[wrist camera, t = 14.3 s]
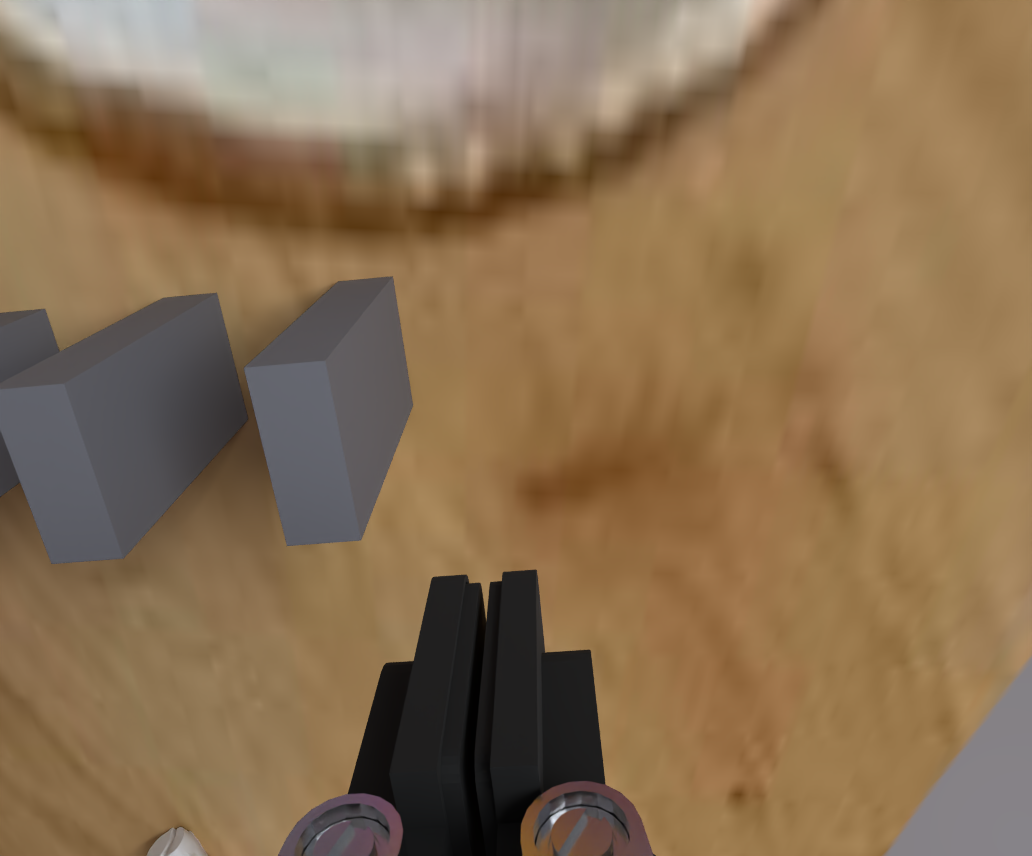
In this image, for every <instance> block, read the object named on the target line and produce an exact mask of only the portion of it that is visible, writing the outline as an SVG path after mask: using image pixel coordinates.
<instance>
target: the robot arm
mask: <svg viewBox="0 0 1032 856" xmlns="http://www.w3.org/2000/svg"><path fill="white" fill-rule="evenodd" d="M278 856H656V855H654V854H653V853H652V850H651V847H650V844H649V841H648V838H647V835H646V832H645V829H644V826H643V823H642V820H641V818H640V816H639V814H638V812H637V810H636V809H635V807H634V805H633V804H632V803H631V802H630V801H629V800H628V799H627V798H626V797H625V796H624V795H623V794H622V793H621V792H619V791H617V790H615V789H613V788H611V787H609V786H607V785H605V776H604V767H603V758H602V749H601V740H600V731H599V722H598V713H597V703H596V694H595V685H594V676H593V667H592V658H591V651H590V650H578V651H563V652H547V653H545V646H544V636H543V626H542V616H541V606H540V595H539V585H538V576H537V570H525V571H511V572H503V575H502V581H498V582H490V588H489V599H488V610H487V621H486V617H485V609H484V601H483V594H482V587H481V584H480V583H469V580H468V576H467V575H454V576H440V577H433V578H432V580H431V584H430V589H429V593H428V598H427V603H426V607H425V612H424V616H423V621H422V625H421V630H420V635H419V639H418V644H417V648H416V653H415V657H414V661H409V662H393V663H386V664H385V665H384V666H383V669H382V671H381V674H380V678H379V682H378V685H377V689H376V693H375V696H374V700H373V704H372V707H371V711H370V715H369V718H368V722H367V726H366V729H365V733H364V737H363V740H362V744H361V748H360V751H359V755H358V759H357V762H356V766H355V770H354V773H353V777H352V781H351V784H350V788H349V792H348V794H346V795H343V796H340V797H336V798H333V799H330V800H328V801H326V802H324V803H322V804H321V805H319V806H317V807H315V808H314V809H312V810H311V811H310V812H308V813H307V814H306V815H305V816H304V817H303V818H302V819H301V820H300V821H298V822H297V824H296V825H295V827H294V828H293V830H292V831H291V832H290V834H289V835H288V837H287V838H286V840H285V842H284V844H283V846H282V848H281V850H280V852H279V854H278Z"/></svg>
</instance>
